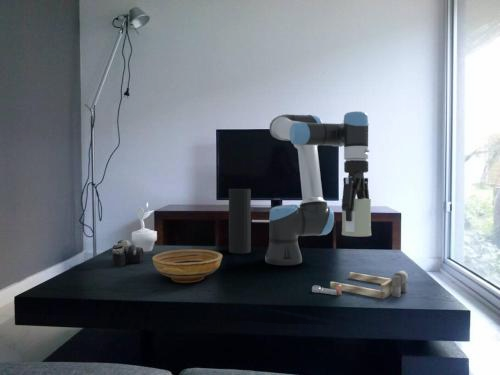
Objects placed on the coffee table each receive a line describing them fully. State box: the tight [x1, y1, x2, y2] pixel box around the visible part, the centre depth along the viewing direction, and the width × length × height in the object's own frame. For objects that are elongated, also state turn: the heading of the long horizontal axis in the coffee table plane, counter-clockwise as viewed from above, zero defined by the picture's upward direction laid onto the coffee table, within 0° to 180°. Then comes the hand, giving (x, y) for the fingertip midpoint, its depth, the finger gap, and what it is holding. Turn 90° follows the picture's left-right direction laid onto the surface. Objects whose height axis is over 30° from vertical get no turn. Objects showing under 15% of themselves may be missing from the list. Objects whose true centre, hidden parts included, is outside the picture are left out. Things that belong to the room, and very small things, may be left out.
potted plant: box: [131, 201, 158, 253], centre depth 175 cm, size 13×12×25 cm
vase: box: [228, 188, 252, 255], centre depth 174 cm, size 10×10×30 cm
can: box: [341, 198, 372, 238], centre depth 120 cm, size 9×9×12 cm
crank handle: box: [311, 284, 343, 296], centre depth 113 cm, size 9×2×3 cm, turn 62°
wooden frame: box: [329, 270, 409, 300], centre depth 118 cm, size 21×16×7 cm
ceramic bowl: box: [151, 249, 223, 284], centre depth 130 cm, size 30×24×8 cm
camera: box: [111, 239, 144, 269], centre depth 151 cm, size 16×10×10 cm, turn 2°
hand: (356, 230), depth 120 cm, fingers closed on can, 9 cm apart
